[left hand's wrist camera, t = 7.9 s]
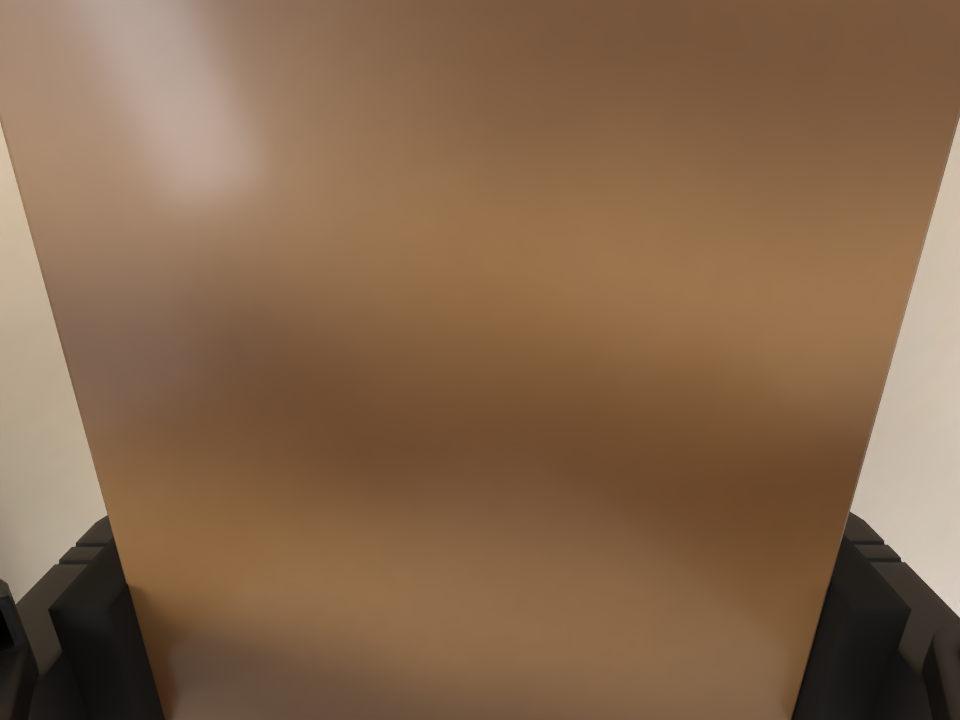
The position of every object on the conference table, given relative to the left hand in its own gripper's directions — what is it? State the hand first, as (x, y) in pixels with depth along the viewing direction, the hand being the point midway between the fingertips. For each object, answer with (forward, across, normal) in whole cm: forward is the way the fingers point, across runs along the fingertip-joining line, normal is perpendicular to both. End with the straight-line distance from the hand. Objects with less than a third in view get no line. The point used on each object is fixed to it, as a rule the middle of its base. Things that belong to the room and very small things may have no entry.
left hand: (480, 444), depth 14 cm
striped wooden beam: (+1, 0, -25) cm, 25 cm away
